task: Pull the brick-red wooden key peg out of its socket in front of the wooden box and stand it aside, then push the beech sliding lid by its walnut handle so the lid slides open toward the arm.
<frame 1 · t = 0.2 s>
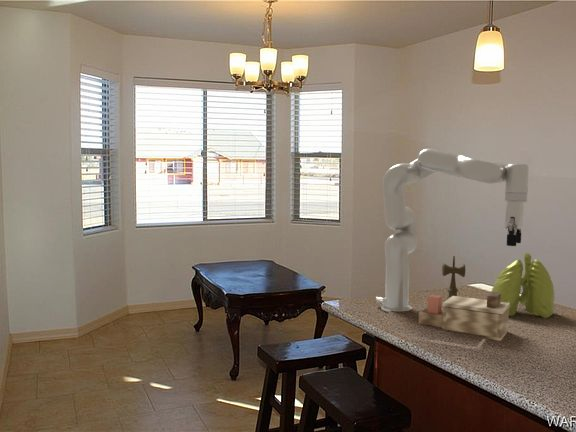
hand: (513, 244, 211), 31 cm above the counter, fingers open, 9 cm apart
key: (434, 322, 214), point 1 cm above the counter, touching wooden box
kendama: (452, 301, 254), on the counter
lungs: (520, 313, 234), on the counter
lid: (476, 299, 206), point 12 cm above the counter, slide at 0.0 cm
wooden box: (475, 331, 207), on the counter
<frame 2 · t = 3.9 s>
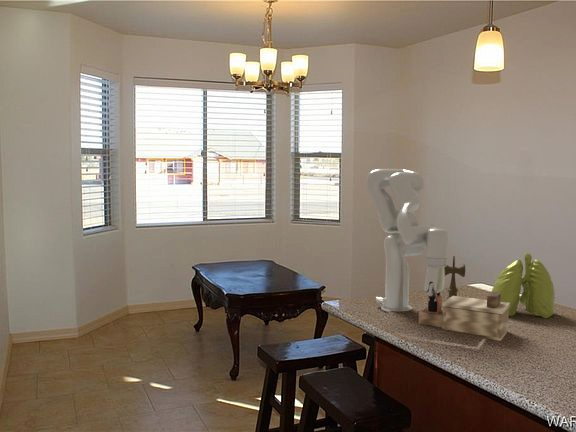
hand: (434, 309, 214), 6 cm above the counter, fingers closed on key, 4 cm apart
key: (434, 322, 214), point 1 cm above the counter, touching gripper, wooden box
everything else where it was.
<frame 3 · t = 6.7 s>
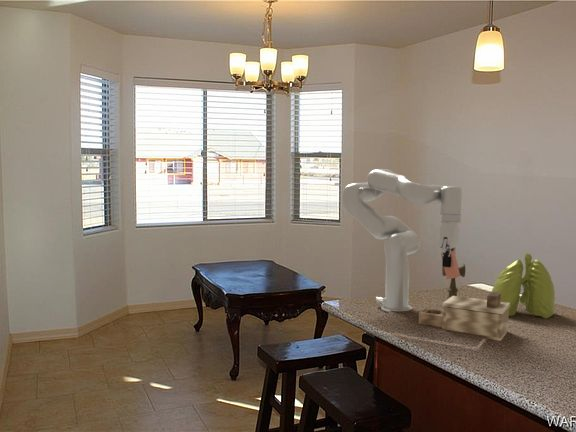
hand: (448, 265, 220), 21 cm above the counter, fingers closed on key, 4 cm apart
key: (453, 277, 220), point 17 cm above the counter, tilted 15°, touching gripper
everything else where it was.
when the fingers open (7 cm above the counter, at t = 9.9 s): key drops 2 cm, on the counter.
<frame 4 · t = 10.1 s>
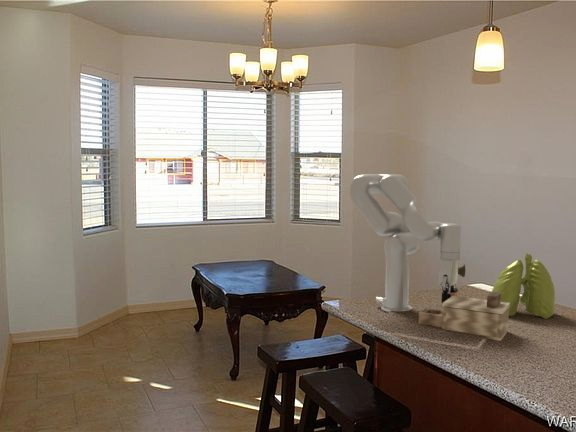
hand: (448, 301, 222), 7 cm above the counter, fingers open, 6 cm apart
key: (453, 319, 222), on the counter, tilted 8°
everything else where it was.
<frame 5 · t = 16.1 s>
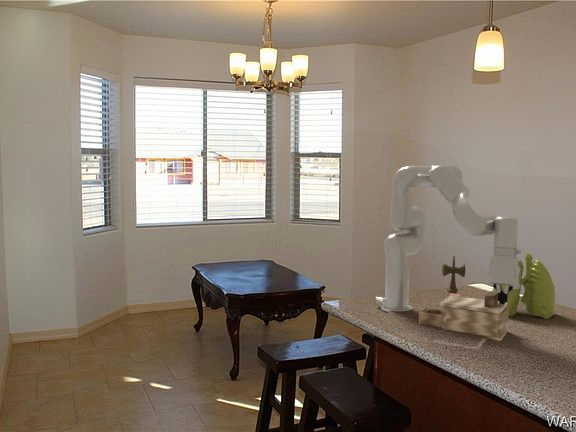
hand: (502, 303, 201), 11 cm above the counter, fingers closed
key: (453, 320, 222), on the counter
lid: (474, 298, 206), point 12 cm above the counter, slide at 0.9 cm, touching gripper
everything else where it was.
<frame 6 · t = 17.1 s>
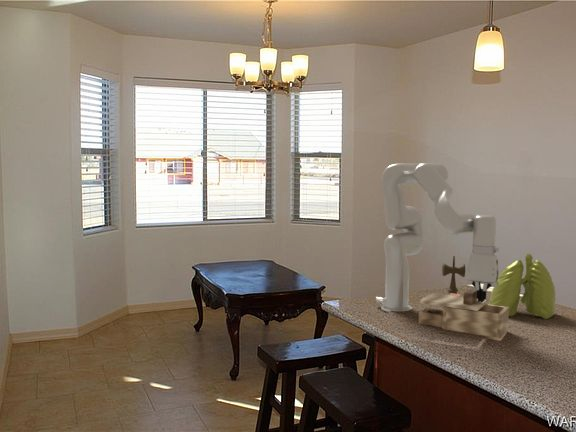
hand: (481, 300, 205), 11 cm above the counter, fingers closed
lid: (453, 296, 210), point 12 cm above the counter, slide at 8.1 cm, touching gripper
everything else where it was.
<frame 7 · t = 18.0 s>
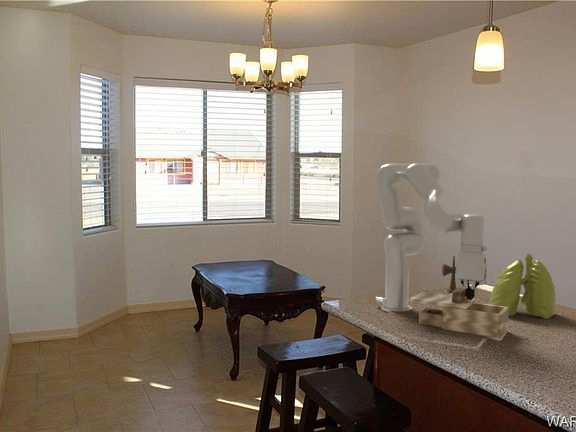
hand: (469, 299, 207), 12 cm above the counter, fingers closed
lid: (442, 294, 212), point 12 cm above the counter, slide at 12.1 cm, touching gripper
everything else where it was.
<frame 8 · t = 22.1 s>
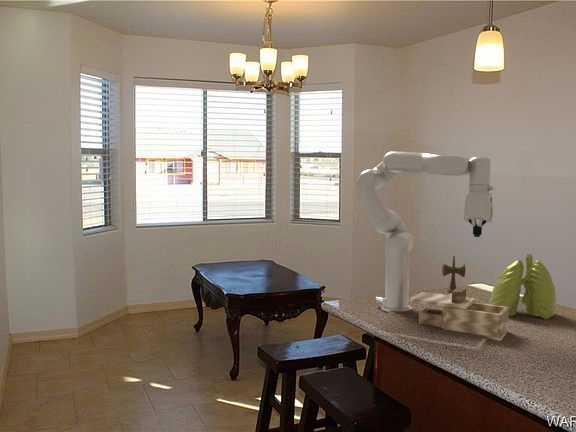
hand: (477, 236, 223), 32 cm above the counter, fingers closed
lid: (442, 294, 212), point 12 cm above the counter, slide at 12.2 cm
at the end: lid slide at 12.2 cm; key moved 11.8 cm from its start; the gripper is holding nothing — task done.
